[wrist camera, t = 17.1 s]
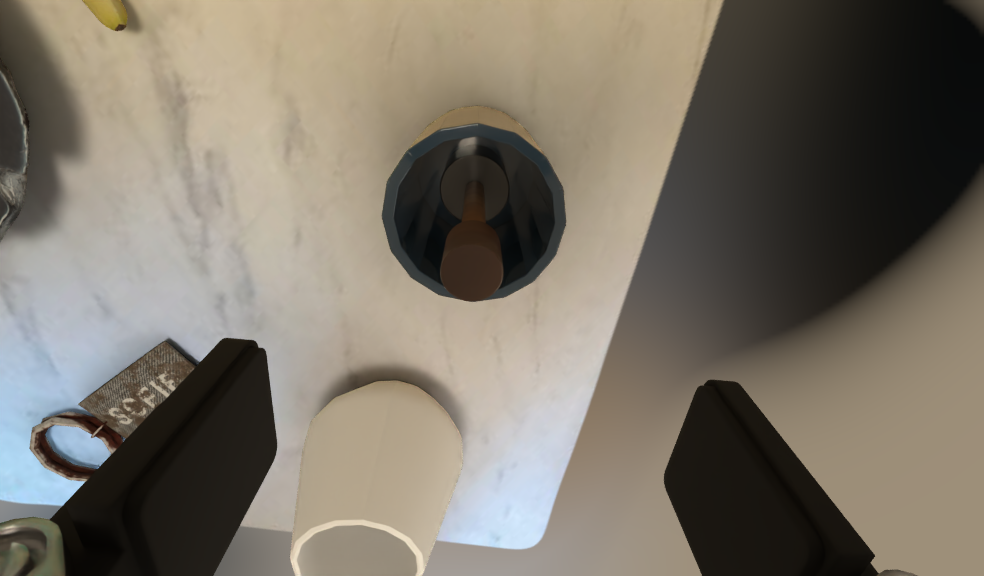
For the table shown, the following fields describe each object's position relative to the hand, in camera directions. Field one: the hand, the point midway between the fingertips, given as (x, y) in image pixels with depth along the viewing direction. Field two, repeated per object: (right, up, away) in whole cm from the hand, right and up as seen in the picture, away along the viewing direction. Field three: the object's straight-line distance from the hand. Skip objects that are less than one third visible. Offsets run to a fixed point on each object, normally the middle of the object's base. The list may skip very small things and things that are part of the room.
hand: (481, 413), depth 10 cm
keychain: (-33, -8, +32) cm, 46 cm away
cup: (-9, -9, +33) cm, 36 cm away
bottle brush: (-1, +11, +23) cm, 25 cm away
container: (-1, +11, +23) cm, 26 cm away
